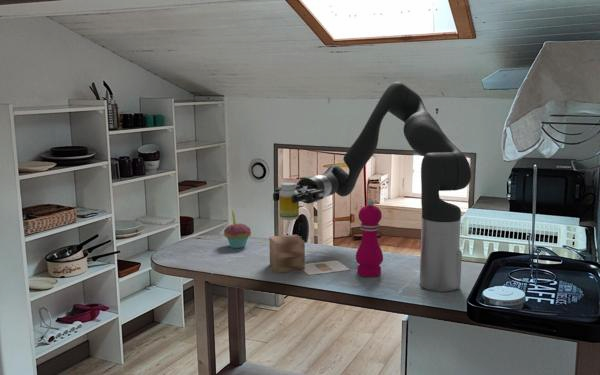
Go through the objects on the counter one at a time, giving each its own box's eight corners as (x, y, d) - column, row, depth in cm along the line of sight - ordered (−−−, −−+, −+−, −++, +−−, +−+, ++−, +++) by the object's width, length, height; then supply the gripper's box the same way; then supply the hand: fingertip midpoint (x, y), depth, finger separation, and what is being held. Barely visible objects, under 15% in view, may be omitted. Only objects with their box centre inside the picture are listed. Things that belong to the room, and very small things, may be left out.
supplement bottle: (277, 216, 155) (277, 182, 154) (296, 215, 156) (296, 181, 155) (281, 220, 150) (280, 185, 148) (300, 219, 151) (300, 184, 149)
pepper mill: (382, 278, 144) (383, 202, 141) (354, 277, 146) (354, 201, 142) (383, 270, 151) (385, 197, 148) (356, 268, 153) (357, 196, 149)
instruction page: (336, 261, 160) (336, 260, 160) (350, 270, 151) (350, 269, 151) (297, 265, 155) (297, 264, 155) (308, 275, 147) (308, 274, 147)
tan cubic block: (297, 261, 159) (297, 234, 158) (304, 270, 152) (304, 241, 150) (269, 264, 157) (269, 236, 156) (276, 272, 149) (275, 243, 148)
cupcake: (240, 251, 170) (239, 212, 168) (218, 247, 175) (217, 209, 173) (256, 244, 177) (255, 207, 175) (235, 241, 182) (234, 205, 180)
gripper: (293, 174, 167) (261, 182, 153) (336, 177, 160) (306, 186, 146) (293, 198, 168) (261, 209, 154) (336, 203, 161) (307, 214, 147)
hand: (284, 198), depth 150 cm, fingers closed on supplement bottle, 5 cm apart
